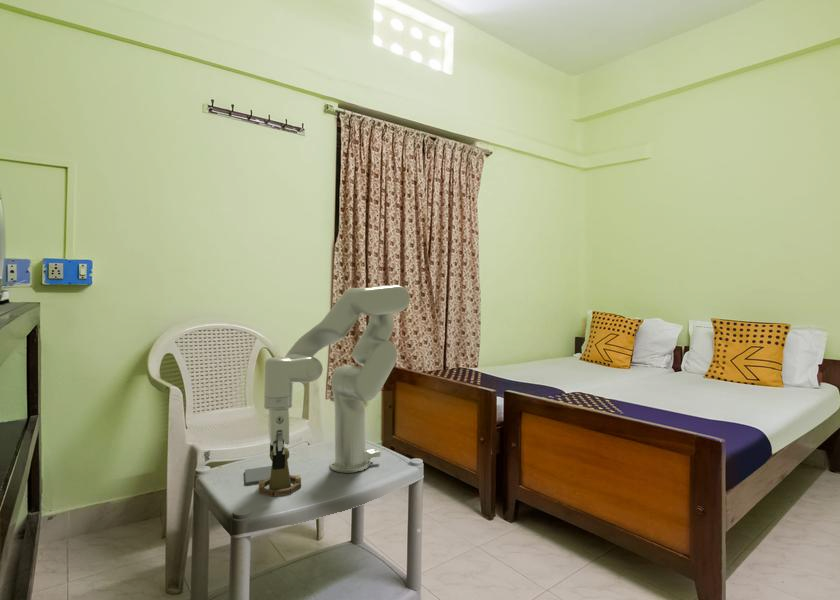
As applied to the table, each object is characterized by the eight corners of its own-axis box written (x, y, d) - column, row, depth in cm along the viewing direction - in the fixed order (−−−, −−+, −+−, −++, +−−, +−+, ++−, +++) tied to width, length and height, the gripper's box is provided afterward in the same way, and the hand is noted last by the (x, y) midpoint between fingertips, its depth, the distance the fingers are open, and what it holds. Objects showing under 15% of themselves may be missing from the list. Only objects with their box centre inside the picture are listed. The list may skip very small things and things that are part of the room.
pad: (279, 467, 143) (279, 464, 143) (282, 479, 134) (282, 477, 134) (244, 472, 139) (244, 469, 139) (245, 485, 130) (245, 482, 130)
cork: (295, 483, 131) (294, 445, 131) (284, 493, 125) (283, 453, 125) (276, 481, 132) (275, 444, 132) (264, 490, 126) (264, 451, 126)
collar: (298, 476, 136) (298, 469, 136) (303, 491, 126) (303, 483, 126) (258, 482, 132) (258, 475, 132) (260, 499, 122) (260, 490, 122)
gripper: (295, 407, 121) (294, 472, 121) (288, 394, 137) (287, 451, 137) (266, 409, 119) (264, 475, 119) (262, 396, 135) (261, 454, 135)
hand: (277, 462), depth 128 cm, fingers open, 9 cm apart
